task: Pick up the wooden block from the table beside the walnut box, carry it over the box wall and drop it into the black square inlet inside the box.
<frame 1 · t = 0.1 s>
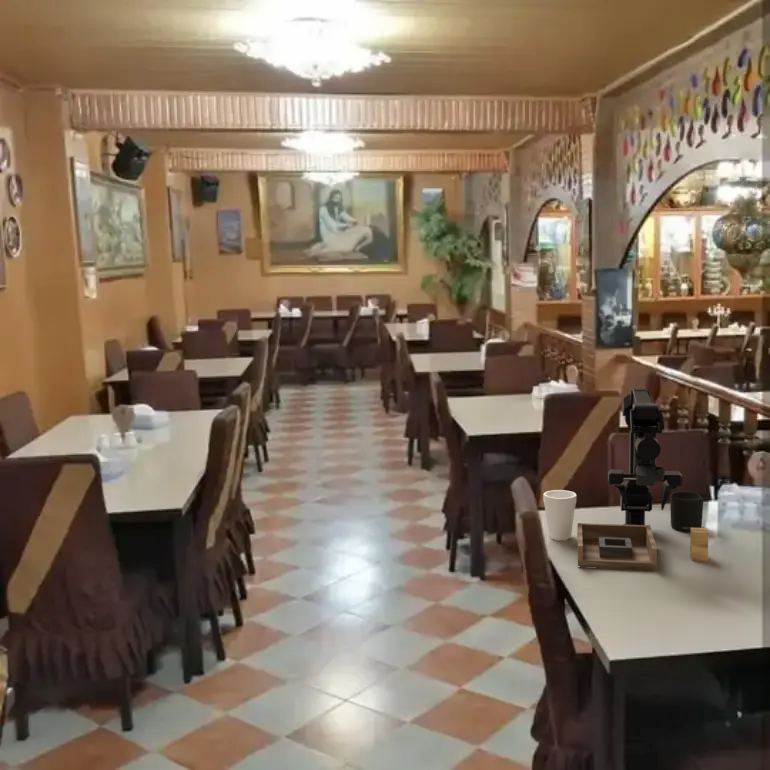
hand: (644, 509, 236), 15 cm above the table, tool pointing down, fingers open, 9 cm apart
foam cup: (559, 537, 260), on the table
pen holder: (686, 528, 265), on the table
inlet box: (615, 556, 243), on the table
wooden block: (698, 558, 239), on the table
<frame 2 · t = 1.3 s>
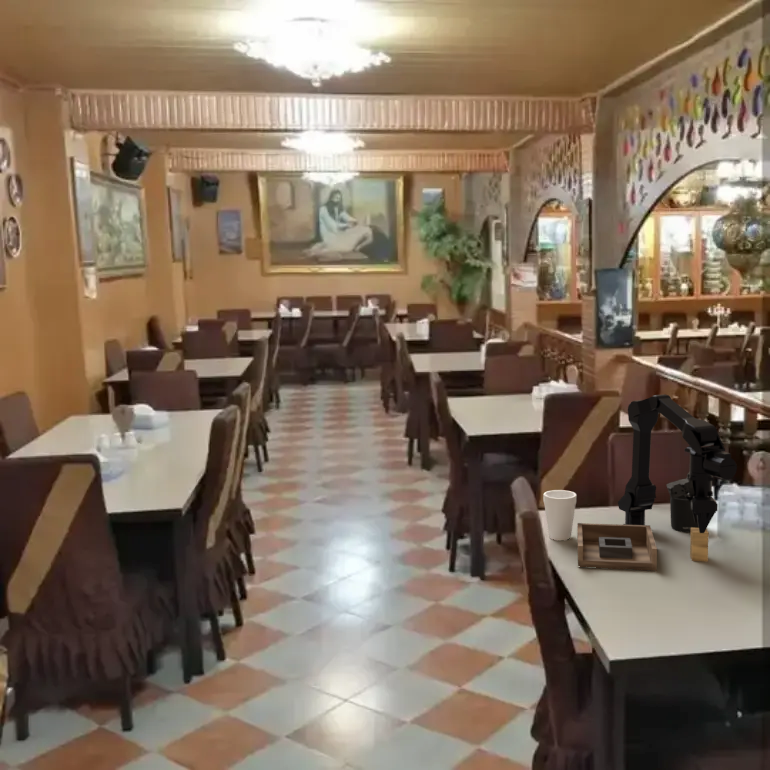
hand: (699, 527, 238), 9 cm above the table, tool pointing down, fingers open, 9 cm apart
nothing on the table moved.
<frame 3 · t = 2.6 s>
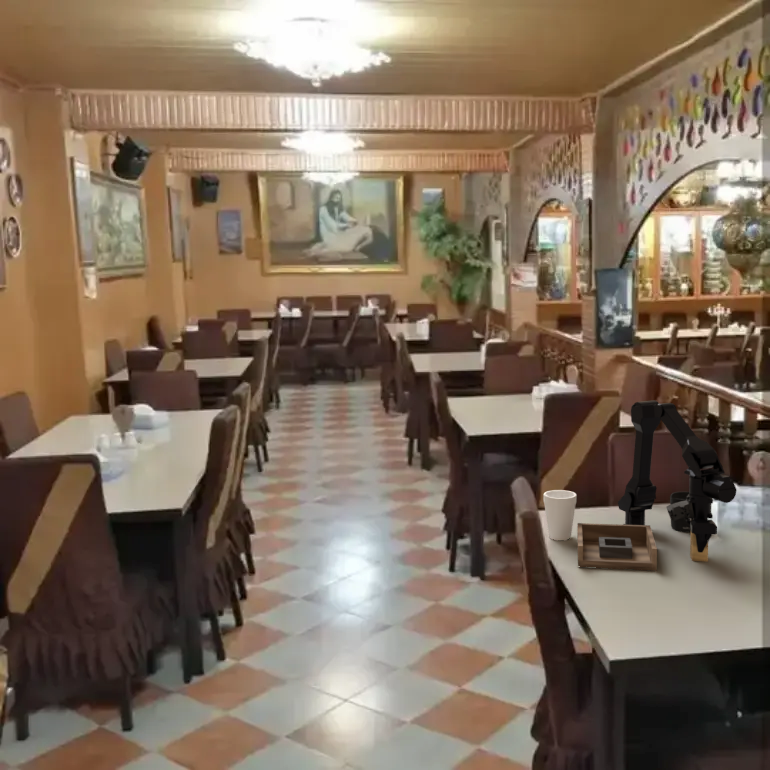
hand: (699, 549, 239), 3 cm above the table, tool pointing down, fingers closed on wooden block, 4 cm apart
wooden block: (698, 558, 239), on the table, touching gripper
everything else where it was.
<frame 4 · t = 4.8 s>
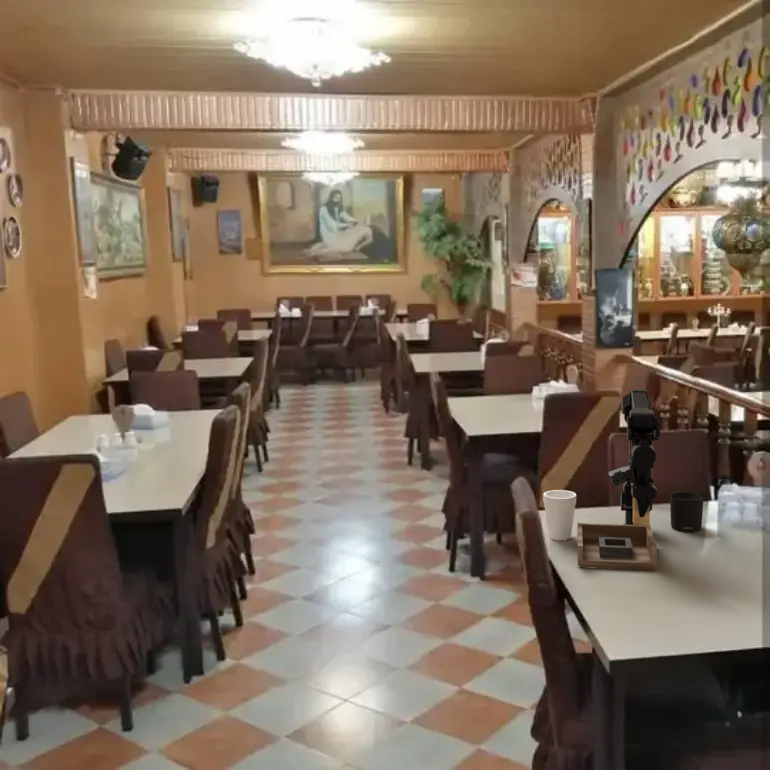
hand: (640, 514, 240), 12 cm above the table, tool pointing down, fingers closed on wooden block, 4 cm apart
wooden block: (640, 523, 240), point 9 cm above the table, touching gripper
everything else where it was.
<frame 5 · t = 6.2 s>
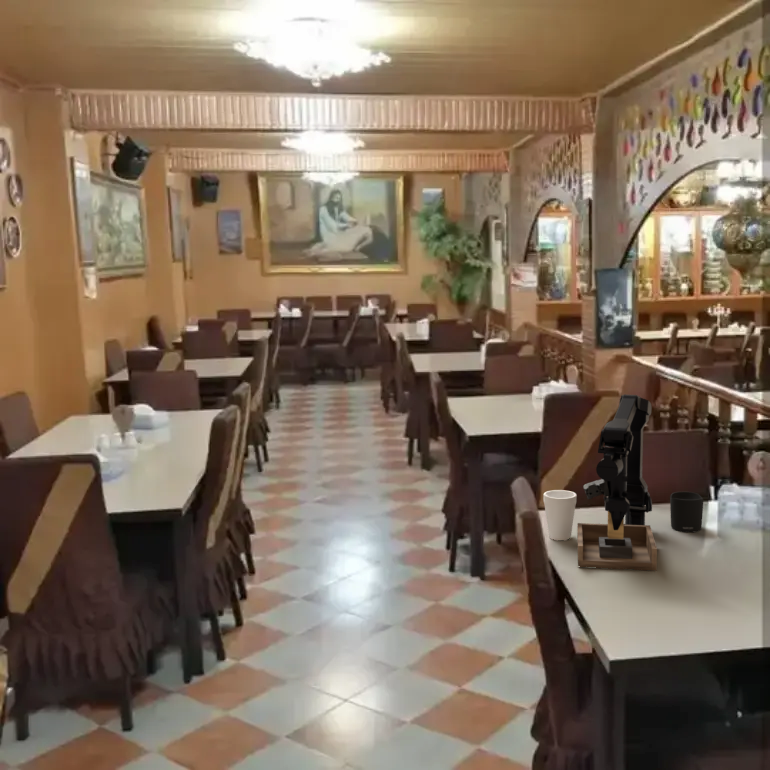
hand: (615, 527, 241), 8 cm above the table, tool pointing down, fingers closed on wooden block, 4 cm apart
wooden block: (615, 536, 242), point 6 cm above the table, touching gripper
everything else where it was.
when the fingers open (6 cm above the table, at t = 7.1 s): wooden block drops 2 cm, resting on inlet box.
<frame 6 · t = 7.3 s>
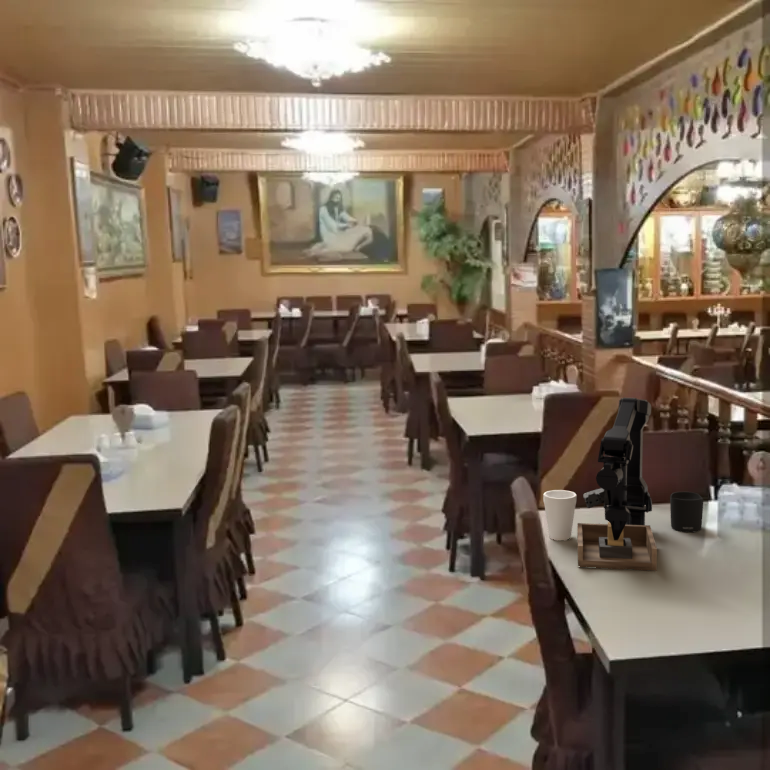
hand: (615, 536, 242), 6 cm above the table, tool pointing down, fingers open, 6 cm apart
wooden block: (615, 552, 242), point 1 cm above the table, touching inlet box
everything else where it was.
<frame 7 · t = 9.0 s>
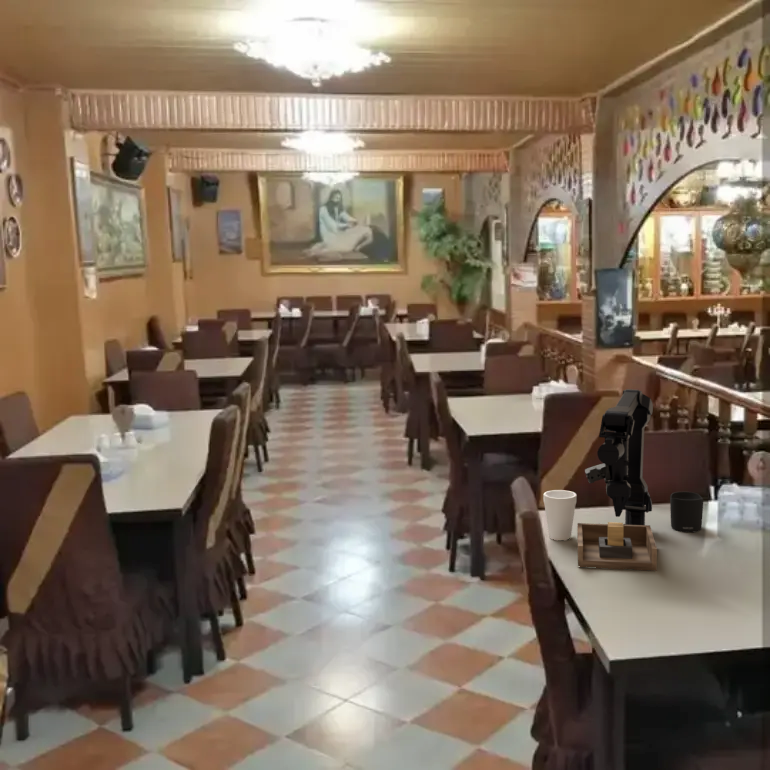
hand: (616, 511, 243), 12 cm above the table, tool pointing down, fingers open, 9 cm apart
nothing on the table moved.
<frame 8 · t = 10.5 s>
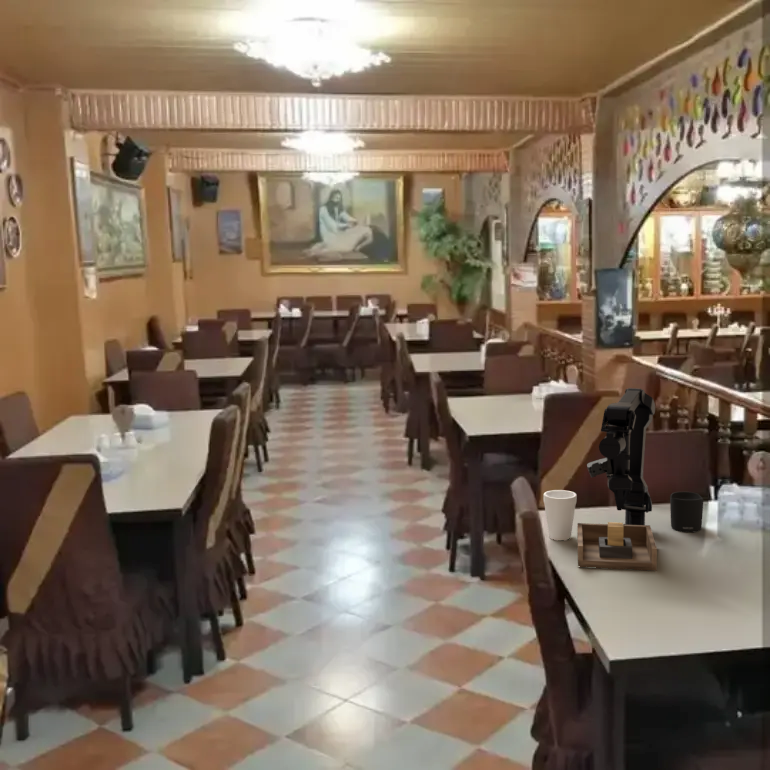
hand: (618, 505, 245), 13 cm above the table, tool pointing down, fingers open, 9 cm apart
nothing on the table moved.
at the end: wooden block 0.1 cm off-centre on the inlet box, point 1.0 cm above the inlet box's base; wooden block tilted 0°; the gripper is holding nothing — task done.
